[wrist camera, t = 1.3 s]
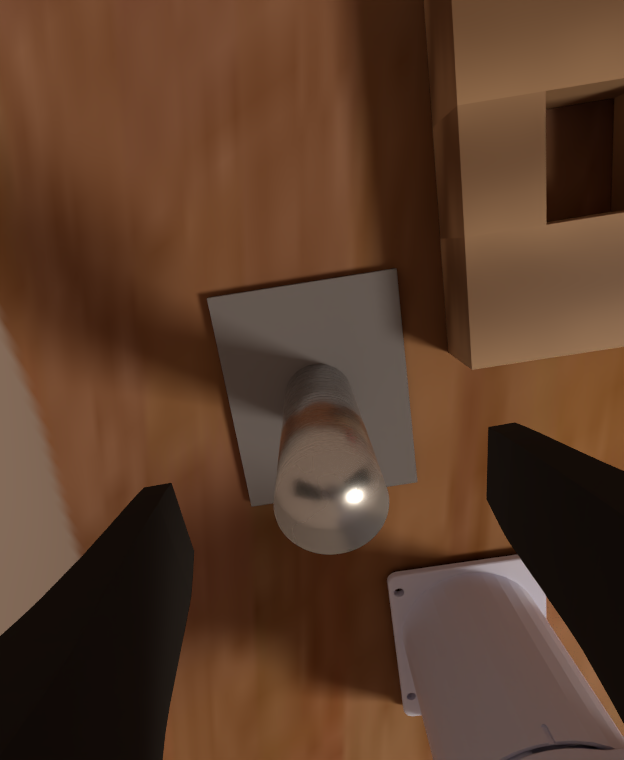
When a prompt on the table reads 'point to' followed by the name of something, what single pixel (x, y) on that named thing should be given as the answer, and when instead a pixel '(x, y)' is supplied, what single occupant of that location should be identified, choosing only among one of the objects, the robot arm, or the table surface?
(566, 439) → the table surface
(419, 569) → the robot arm
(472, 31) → the hole block
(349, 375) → the mat
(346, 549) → the peg
